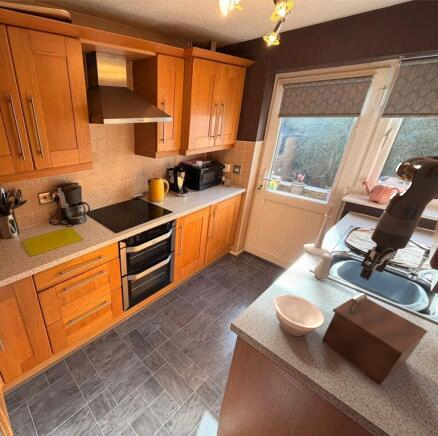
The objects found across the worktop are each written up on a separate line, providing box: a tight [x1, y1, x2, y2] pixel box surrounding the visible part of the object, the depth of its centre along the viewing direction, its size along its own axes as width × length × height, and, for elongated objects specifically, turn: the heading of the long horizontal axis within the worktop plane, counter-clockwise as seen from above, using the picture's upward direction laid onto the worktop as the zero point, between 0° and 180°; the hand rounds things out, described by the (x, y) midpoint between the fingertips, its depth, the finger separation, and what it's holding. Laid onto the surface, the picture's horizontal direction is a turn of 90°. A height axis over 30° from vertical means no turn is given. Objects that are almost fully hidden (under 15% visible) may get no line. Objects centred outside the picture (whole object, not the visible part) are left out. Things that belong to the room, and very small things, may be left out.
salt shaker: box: [313, 254, 334, 280], centre depth 112 cm, size 6×6×13 cm
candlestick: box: [303, 203, 336, 257], centre depth 131 cm, size 13×13×30 cm
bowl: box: [273, 294, 325, 337], centre depth 87 cm, size 16×16×9 cm
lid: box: [332, 292, 428, 355], centre depth 73 cm, size 17×17×5 cm
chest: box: [321, 312, 425, 386], centre depth 76 cm, size 17×17×14 cm
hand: (371, 274), depth 73 cm, fingers open, 8 cm apart
